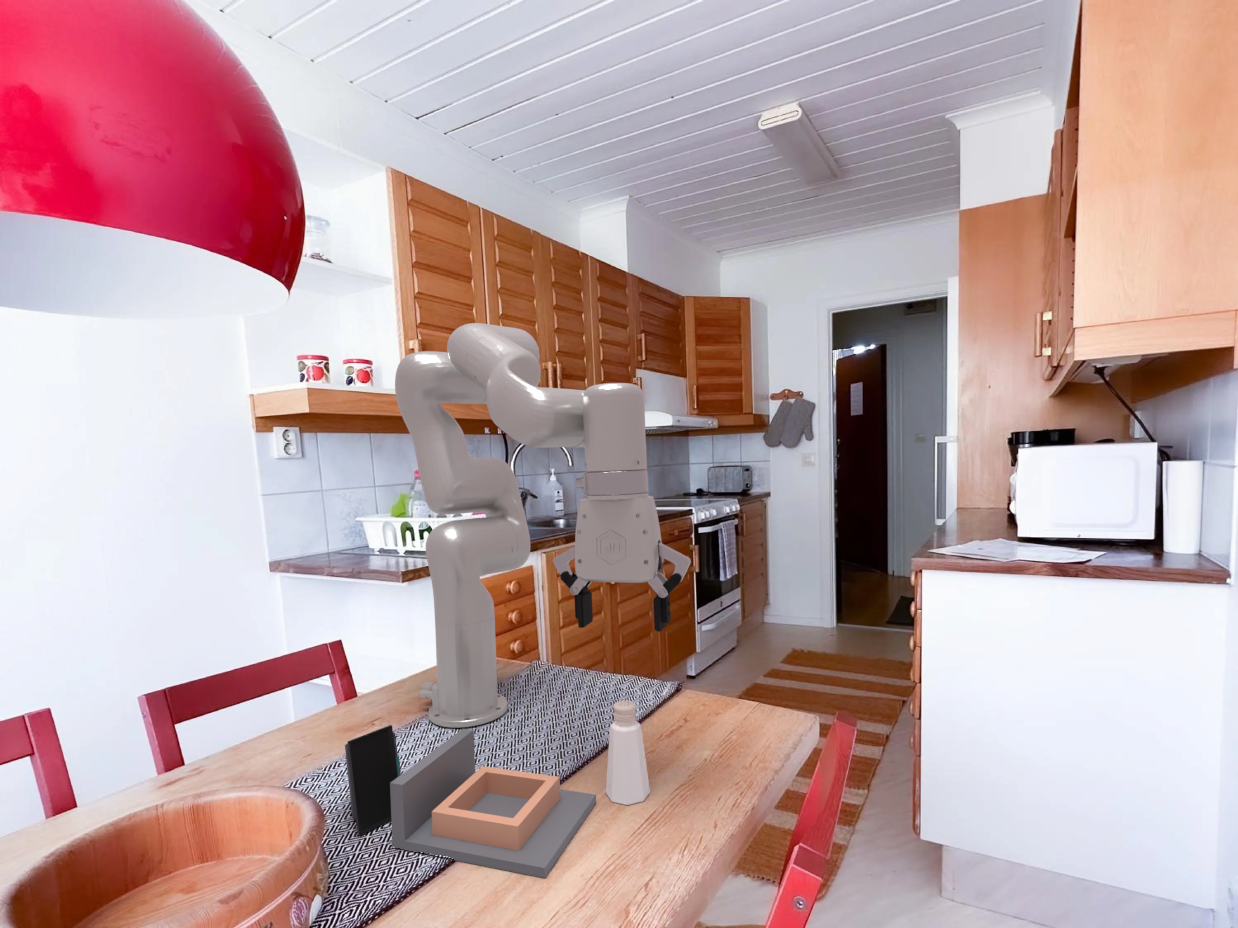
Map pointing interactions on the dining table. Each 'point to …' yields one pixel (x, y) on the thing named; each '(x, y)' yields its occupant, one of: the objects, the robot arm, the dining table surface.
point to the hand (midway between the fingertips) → (622, 626)
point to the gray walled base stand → (484, 811)
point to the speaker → (372, 777)
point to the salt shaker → (626, 757)
